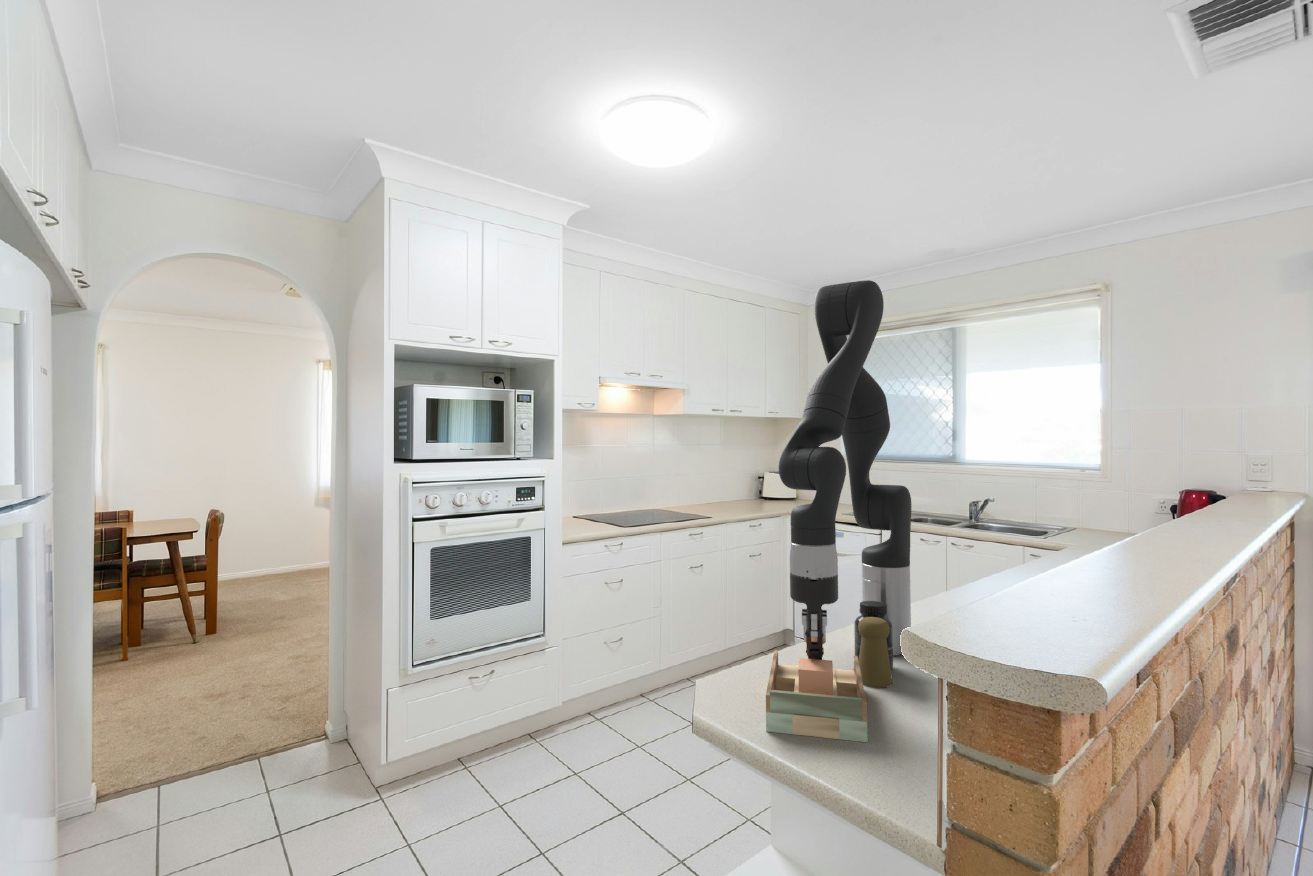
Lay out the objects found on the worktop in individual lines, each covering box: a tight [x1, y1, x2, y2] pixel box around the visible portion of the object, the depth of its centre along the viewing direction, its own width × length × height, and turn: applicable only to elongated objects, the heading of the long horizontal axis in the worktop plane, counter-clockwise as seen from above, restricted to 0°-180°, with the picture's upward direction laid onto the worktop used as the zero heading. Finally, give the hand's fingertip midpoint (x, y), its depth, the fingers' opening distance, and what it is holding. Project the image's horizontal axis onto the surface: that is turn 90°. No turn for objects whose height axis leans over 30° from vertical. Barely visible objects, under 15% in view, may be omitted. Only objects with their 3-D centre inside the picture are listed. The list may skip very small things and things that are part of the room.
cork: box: [858, 617, 894, 689], centre depth 108 cm, size 6×6×11 cm
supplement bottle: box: [853, 601, 894, 672], centre depth 114 cm, size 7×7×12 cm
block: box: [798, 657, 834, 695], centre depth 94 cm, size 5×5×5 cm
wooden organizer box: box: [765, 649, 868, 743], centre depth 98 cm, size 20×14×6 cm
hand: (815, 677), depth 99 cm, fingers closed
